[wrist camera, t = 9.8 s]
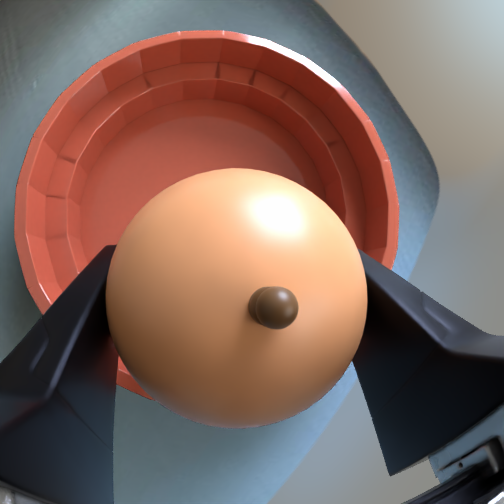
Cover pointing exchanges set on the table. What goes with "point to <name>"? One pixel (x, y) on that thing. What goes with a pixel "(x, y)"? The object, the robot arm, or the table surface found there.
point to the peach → (236, 298)
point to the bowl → (191, 148)
